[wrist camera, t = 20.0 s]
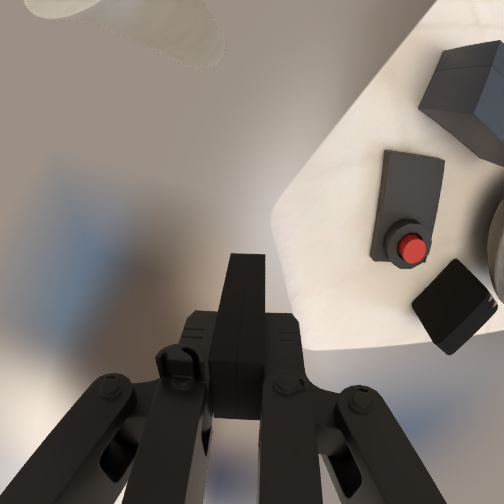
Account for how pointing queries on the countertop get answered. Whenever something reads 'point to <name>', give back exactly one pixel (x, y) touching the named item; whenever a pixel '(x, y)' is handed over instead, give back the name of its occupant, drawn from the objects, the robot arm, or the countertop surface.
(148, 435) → the robot arm
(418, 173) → the push button box
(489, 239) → the bowl
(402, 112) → the countertop surface
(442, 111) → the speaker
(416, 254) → the red button
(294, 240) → the countertop surface
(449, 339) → the electronic device
